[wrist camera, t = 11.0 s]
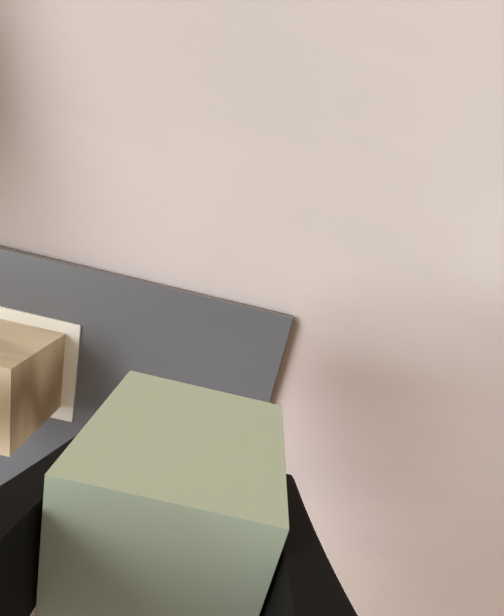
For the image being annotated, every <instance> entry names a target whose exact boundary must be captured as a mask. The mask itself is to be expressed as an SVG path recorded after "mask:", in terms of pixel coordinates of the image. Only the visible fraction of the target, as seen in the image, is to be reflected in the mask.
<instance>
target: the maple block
mask: <svg viewBox="0 0 504 616" xmlns="http://www.w3.org/2000/svg"><path fill="white" fill-rule="evenodd" d="M64 349H65V333H61V332H57V331H52V330H48V329H43V328H39V327H35V326H30V325H26V324H21V323H17V322H13V321H8V320H4V319H0V455H3V456H8V457H10V456H11V455H12V454H13V453H14V452H15V451H16V450H17V449H18V448H19V447H20V446H21V445H22V444H23V443H24V442H25V441H26V440H27V439H28V438H29V437H30V436H31V435H32V434H33V433H34V432H35V431H36V430H37V429H38V428H39V427H40V426H41V425H42V424H43V423H44V422H45V421H46V420H47V419H49V418H50V417H51V416H52V415H53V414H54V413H55V412H56V411H57V410H58V409H59V408H60V407H61V393H62V378H63V364H64Z"/></svg>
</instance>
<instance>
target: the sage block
mask: <svg viewBox="0 0 504 616" xmlns="http://www.w3.org/2000/svg"><path fill="white" fill-rule="evenodd" d="M288 532H289V515H288V499H287V483H286V466H285V450H284V433H283V417H282V406H281V405H277V404H273V403H268V402H264V401H260V400H255V399H251V398H247V397H243V396H238V395H234V394H230V393H225V392H221V391H217V390H212V389H208V388H204V387H200V386H195V385H191V384H187V383H182V382H178V381H174V380H169V379H165V378H161V377H156V376H152V375H148V374H144V373H139V372H135V371H131V370H130V371H129V372H128V374H127V375H126V376H125V377H124V379H123V380H122V381H121V382H120V383H119V385H118V386H117V387H116V388H115V389H114V391H113V392H112V393H111V394H110V396H109V397H108V398H107V399H106V400H105V402H104V403H103V404H102V405H101V407H100V408H99V409H98V410H97V411H96V413H95V414H94V415H93V416H92V417H91V419H90V420H89V421H88V422H87V424H86V425H85V426H84V427H83V428H82V430H81V431H80V432H79V433H78V435H77V436H76V437H75V438H74V439H73V441H72V442H71V443H70V444H69V445H68V447H67V448H66V449H65V450H64V452H63V453H62V454H61V455H60V456H59V458H58V459H57V460H56V461H55V463H54V464H53V465H52V466H51V467H50V469H49V470H48V471H47V472H46V473H45V478H44V493H43V508H42V523H41V538H40V553H39V568H38V584H37V599H36V614H35V616H259V614H260V611H261V609H262V606H263V603H264V600H265V597H266V594H267V591H268V589H269V586H270V583H271V580H272V577H273V574H274V572H275V569H276V566H277V563H278V560H279V557H280V554H281V552H282V549H283V546H284V543H285V540H286V537H287V535H288Z"/></svg>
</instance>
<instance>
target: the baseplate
mask: <svg viewBox="0 0 504 616" xmlns="http://www.w3.org/2000/svg"><path fill="white" fill-rule="evenodd" d="M0 319H4V320H8V321H13V322H17V323H21V324H26V325H30V326H35V327H39V328H43V329H48V330H52V331H57V332H61V333H65V349H64V364H63V378H62V393H61V407H60V408H59V409H58V410H57V411H56V412H55V413H54V414H53V415H52V416H51V417H50V418H49V419H47V420H46V421H45V422H44V423H43V424H42V425H41V426H40V427H39V428H38V429H37V430H36V431H35V432H34V433H33V434H32V435H31V436H30V437H29V438H28V439H27V440H26V441H25V442H24V443H23V444H22V445H21V446H20V447H19V448H18V449H17V450H16V451H15V452H14V453H13V454H12V455H11V456H10V457H8V456H3V455H0V485H2V484H4V483H5V482H7V481H8V480H10V479H12V478H13V477H15V476H16V475H18V474H19V473H21V472H22V471H24V470H25V469H27V468H29V467H30V466H32V465H33V464H35V463H36V462H38V461H39V460H41V459H42V458H44V457H45V456H47V455H48V454H50V453H51V452H53V451H54V450H55V449H57V448H58V447H60V446H61V445H63V444H64V443H66V442H67V441H68V440H70V439H71V438H73V437H74V436H76V435H77V434H78V433H79V432H80V431H81V430H82V428H83V427H84V426H85V425H86V424H87V422H88V421H89V420H90V419H91V417H92V416H93V415H94V414H95V413H96V411H97V410H98V409H99V408H100V407H101V405H102V404H103V403H104V402H105V400H106V399H107V398H108V397H109V396H110V394H111V393H112V392H113V391H114V389H115V388H116V387H117V386H118V385H119V383H120V382H121V381H122V380H123V379H124V377H125V376H126V375H127V374H128V372H129V371H130V370H131V371H135V372H139V373H144V374H148V375H152V376H156V377H161V378H165V379H169V380H174V381H178V382H182V383H187V384H191V385H195V386H200V387H204V388H208V389H212V390H217V391H221V392H225V393H230V394H234V395H238V396H243V397H247V398H251V399H255V400H260V401H264V402H268V403H269V401H270V398H271V394H272V391H273V387H274V384H275V380H276V377H277V373H278V370H279V366H280V363H281V359H282V356H283V353H284V349H285V346H286V342H287V339H288V335H289V332H290V328H291V325H292V321H293V316H292V315H288V314H284V313H279V312H275V311H271V310H267V309H263V308H259V307H254V306H250V305H246V304H242V303H238V302H233V301H229V300H225V299H221V298H217V297H212V296H208V295H204V294H200V293H196V292H192V291H187V290H183V289H179V288H175V287H171V286H166V285H162V284H158V283H154V282H150V281H146V280H141V279H137V278H133V277H129V276H125V275H120V274H116V273H112V272H108V271H104V270H100V269H95V268H91V267H87V266H83V265H79V264H74V263H70V262H66V261H62V260H58V259H53V258H49V257H45V256H41V255H37V254H33V253H28V252H24V251H20V250H16V249H12V248H7V247H3V246H0Z"/></svg>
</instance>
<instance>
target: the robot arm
mask: <svg viewBox="0 0 504 616" xmlns="http://www.w3.org/2000/svg"><path fill="white" fill-rule="evenodd" d="M77 435H78V434H77ZM77 435H76V436H77ZM76 436H74V437H73V438H71V439H70V440H68V441H67V442H66V443H64V444H63V445H61V446H60V447H58V448H57V449H55V450H54V451H53V452H51V453H50V454H48V455H47V456H45V457H44V458H42V459H41V460H39V461H38V462H36V463H35V464H33V465H32V466H30V467H29V468H27V469H25V470H24V471H22V472H21V473H19V474H18V475H16V476H15V477H13V478H12V479H10V480H8V481H7V482H5V483H4V484H2V485H0V616H30V614H31V613H32V611H33V609H34V608H35V606H36V599H37V584H38V568H39V553H40V538H41V523H42V508H43V493H44V478H45V473H46V472H47V471H48V470H49V469H50V467H51V466H52V465H53V464H54V463H55V461H56V460H57V459H58V458H59V456H60V455H61V454H62V453H63V452H64V450H65V449H66V448H67V447H68V445H69V444H70V443H71V442H72V441H73V439H74V438H75V437H76ZM286 483H287V499H288V515H289V532H288V535H287V537H286V540H285V543H284V546H283V549H282V552H281V554H280V557H279V560H278V563H277V566H276V569H275V572H274V574H273V577H272V580H271V583H270V586H269V589H268V591H267V594H266V597H265V600H264V603H263V606H262V609H261V611H260V614H259V616H358V615H357V614H356V612H355V610H354V608H353V606H352V605H351V603H350V601H349V599H348V597H347V595H346V594H345V592H344V590H343V588H342V586H341V584H340V582H339V580H338V578H337V576H336V574H335V572H334V570H333V568H332V566H331V564H330V562H329V560H328V558H327V556H326V554H325V552H324V550H323V547H322V545H321V543H320V541H319V539H318V537H317V535H316V532H315V530H314V528H313V525H312V523H311V521H310V518H309V516H308V514H307V511H306V509H305V506H304V504H303V501H302V499H301V496H300V494H299V491H298V489H297V486H296V483H295V480H294V478H293V477H292V475H289V474H286Z"/></svg>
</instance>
